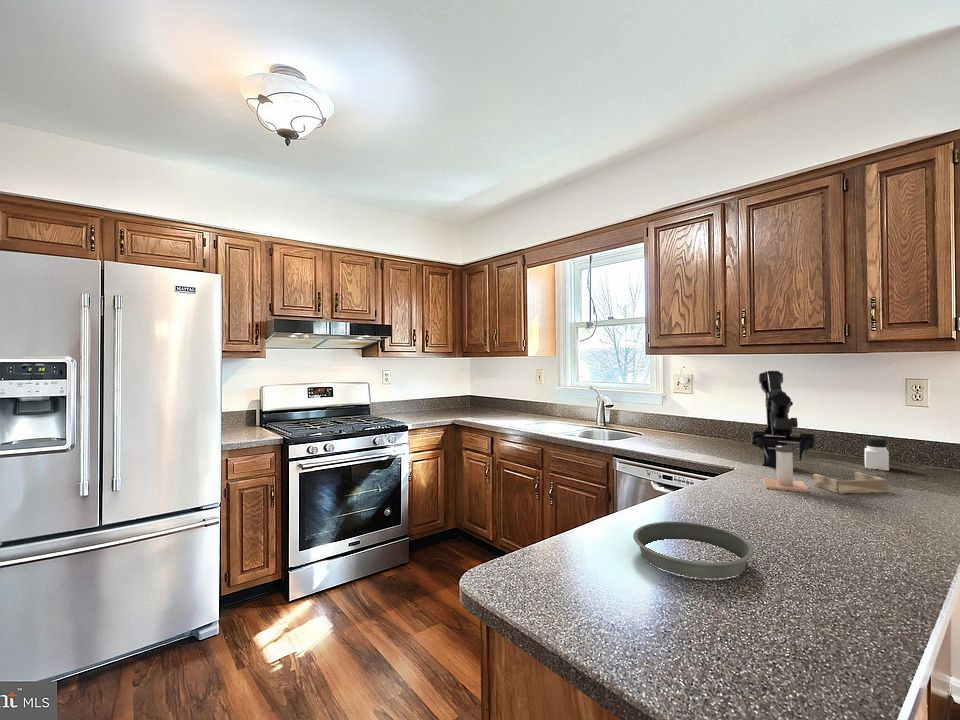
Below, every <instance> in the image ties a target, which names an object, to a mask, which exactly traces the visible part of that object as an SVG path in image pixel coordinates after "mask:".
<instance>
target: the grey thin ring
mask: <svg viewBox="0 0 960 720" xmlns="http://www.w3.org/2000/svg"><path fill="white" fill-rule="evenodd" d="M632 535H633V536H632V537H633V540H634V542H635V543H636V544H637V546H638V547H639V549H640V553H641V556H643V557H644V558H645V559H646V560H647V561H648V562H649V563H651V564H652V565H654V566H656V567H658V568H661V569H663V570H666V571H669V572H673V573H676V574H680V575H684V576H689V577H697V578H710V579H711V578H713V579H714V578H727V577H732V576H736V575H738V574H741V573H742V572H743V571H744V570H746V565H747V562H748V560H750V559H751V558H752V557H753V555H754V548H753V546H752V545H751V543H749V541H748V540H746V539H744V538H743V537H741V536H740V535H738V534H736V533H733V532H730V531H728V530H726V529H723V528H719V527H716V526H712V525H708V524H701V523H696V522H690V521H689V522H687V521H660V522H659V521H658V522H657V521H656V522H652V523H647V524H644V525H642V526H640V527H638V528H637V529H635V531H634V532H633V534H632ZM664 539H689V540H695V541H700V542H705V543H709V544H712V545H715V546H718V547H721V548H724V549H726V550H729V551H730V552H732V553H734V554H736V555H737V556H738V557H740V558H741V559H738V560H735V561H729V562H718V563H708V562H695V561H687V560H682V559H677V558H673V557H669V556H666V555H663V554H660V553H657V552H655V551H653V550H651V549H649V548H647V547H645V545H646V544H648V543H651V542H653V541H657V540H664ZM643 557H642V558H643ZM644 558H643V559H644ZM649 563H648V564H649ZM744 572H745V571H744Z"/></svg>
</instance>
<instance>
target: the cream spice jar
mask: <svg viewBox="0 0 960 720" xmlns="http://www.w3.org/2000/svg"><path fill="white" fill-rule="evenodd" d="M793 452H794V446H791V445H788V446H787V445H776V467H775V469H776V471H775V472H776V474H775V475H776V479H777V484H780V485H787V486H791V485H793V481H794V472H793V471H794V466H793V465H794V464H793V463H794V462H793V461H794V460H793V459H794V458H793V457H794V456H793V455H794V454H793Z"/></svg>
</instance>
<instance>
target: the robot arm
mask: <svg viewBox="0 0 960 720" xmlns="http://www.w3.org/2000/svg"><path fill="white" fill-rule="evenodd" d="M783 383H784V373H782V372H780V371H779V370H767V371H765V372H762V373H761V372H760V373H759V374H758V384H760V388H761V390H762V391H763V393H764V394H765V408H766V409H765V411H766V425H767V426H766V427H765V429H764V430H752V431H751V445H752V446H756V448H759V449H760V450H761V451H762V452H763V463H762V466H766V465H767V466H768V467H775V468H776V445H787V446H789V443H793V444H799V447H798V460H799V461H800V462H801V461H802V459H803V456H804V453H805V451H807V450H808V451H809V450H810V449H813V448H814V447H815V440H816V437H815V434H813V433H812V432H800V433H799V436H792V433H793V429H797V428H798V426H799V425H798V418H797V417H790V418H789V413H790V410H791V409H790V408H791V407H792V406H793V405H794V404H793V403H794V402H793V401H792V399H791V397H790V396H789V395H787V393H786V392H784V391H783V390H782V384H783ZM792 428H793V429H792Z"/></svg>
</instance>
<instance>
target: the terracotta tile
mask: <svg viewBox="0 0 960 720" xmlns="http://www.w3.org/2000/svg"><path fill="white" fill-rule="evenodd" d="M762 481H763V484H764V487H765V486H766V487H765V489H766V488H769V489H768V490H775V489H778V490H777V491H786V490H790V491H789V492H796V491H800V492H799V493H807V492H809V493H810V490H809V489H808V487H807V486H806V484H805V483H804V481H801V480H793V485H791V486H787V485H780V484H777V478H767V477H766V478H765V477H763V478H762Z"/></svg>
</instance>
